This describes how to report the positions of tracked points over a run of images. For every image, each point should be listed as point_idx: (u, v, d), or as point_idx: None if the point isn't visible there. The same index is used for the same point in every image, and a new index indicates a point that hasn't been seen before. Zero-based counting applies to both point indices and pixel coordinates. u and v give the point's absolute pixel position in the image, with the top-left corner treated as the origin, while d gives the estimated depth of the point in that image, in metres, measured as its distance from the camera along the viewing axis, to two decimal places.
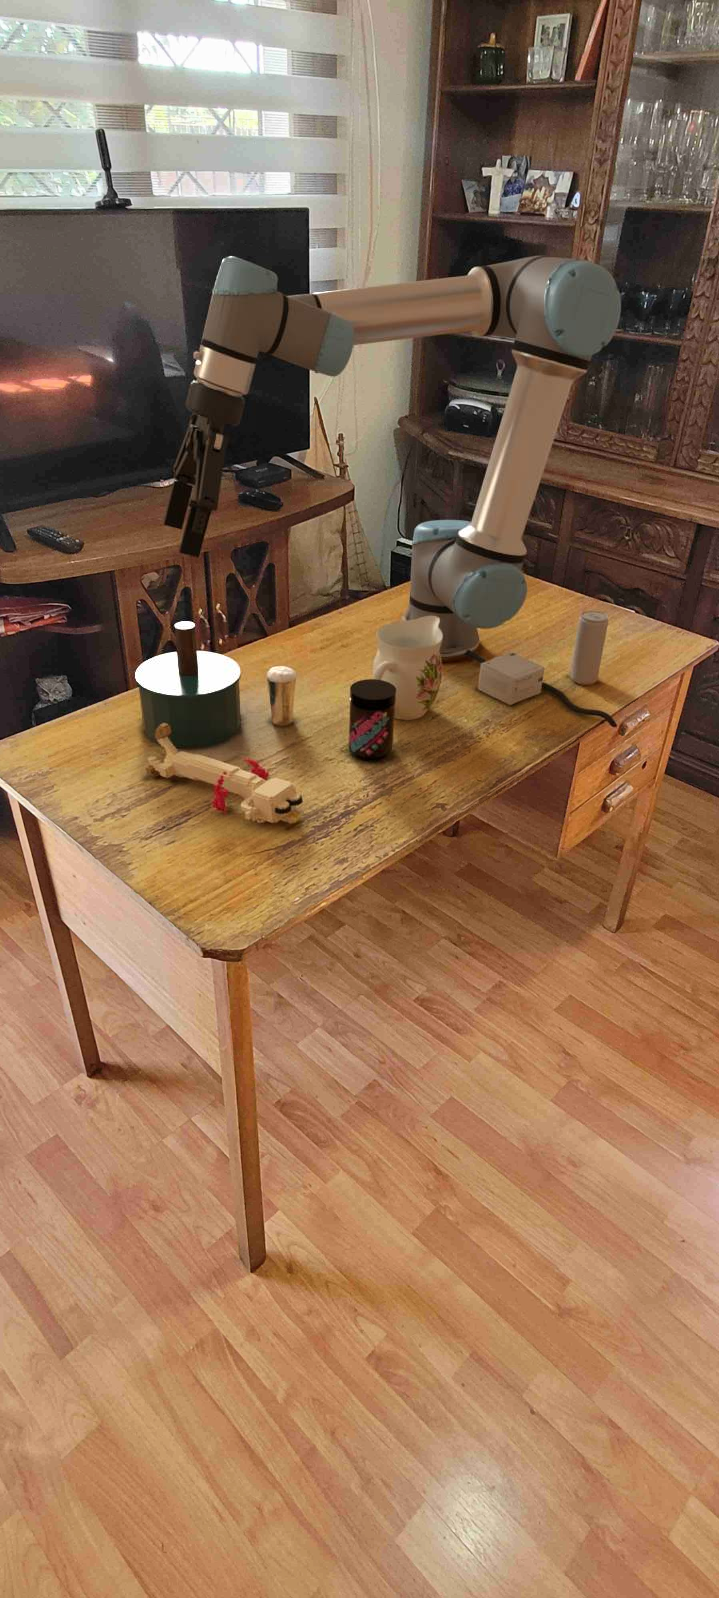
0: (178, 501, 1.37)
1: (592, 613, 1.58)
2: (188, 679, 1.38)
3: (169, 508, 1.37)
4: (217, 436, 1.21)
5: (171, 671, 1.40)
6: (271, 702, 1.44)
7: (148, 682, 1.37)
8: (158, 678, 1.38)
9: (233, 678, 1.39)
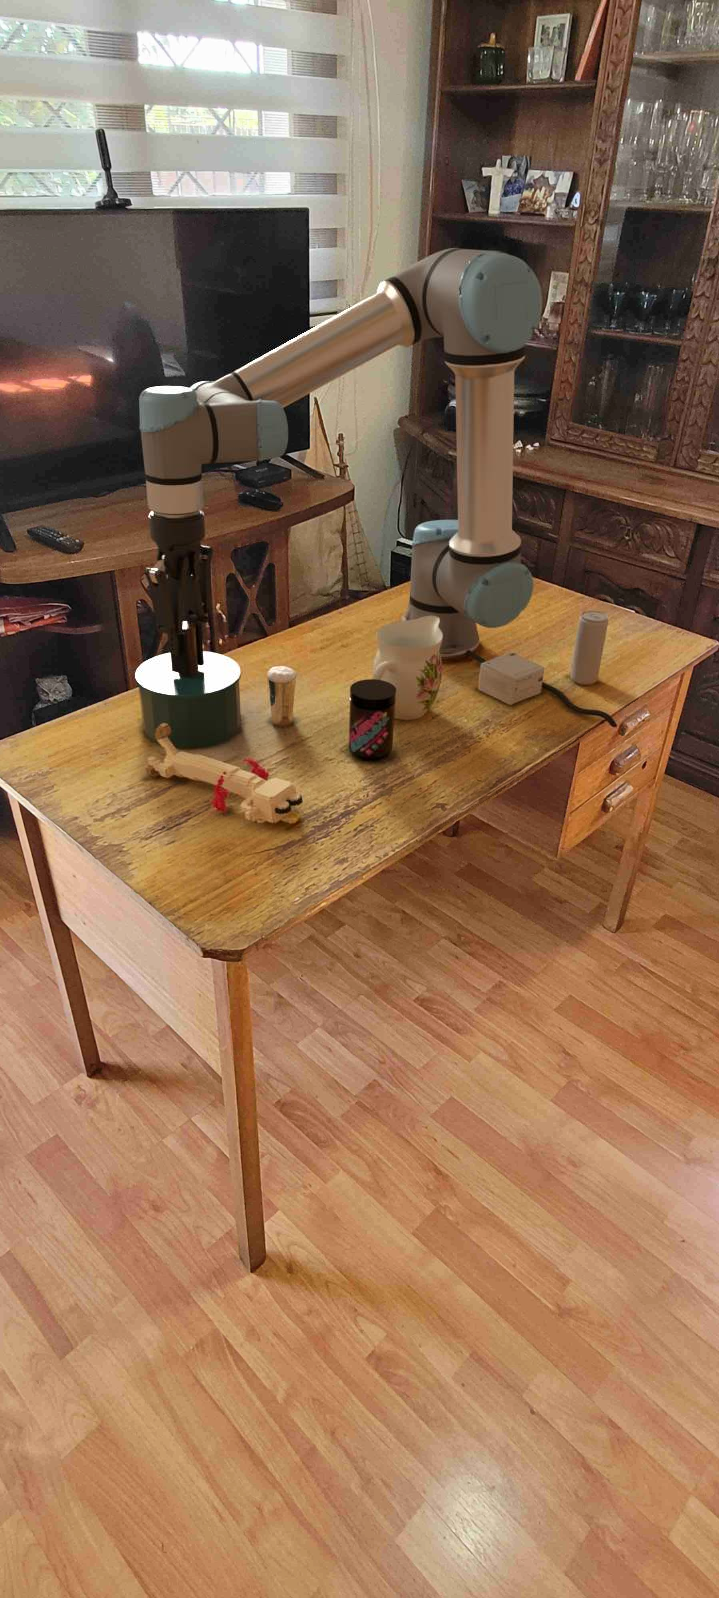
0: None
1: (592, 613, 1.58)
2: (188, 679, 1.38)
3: None
4: (150, 575, 1.26)
5: (171, 671, 1.40)
6: (271, 702, 1.44)
7: (148, 682, 1.37)
8: (158, 678, 1.38)
9: (233, 678, 1.39)
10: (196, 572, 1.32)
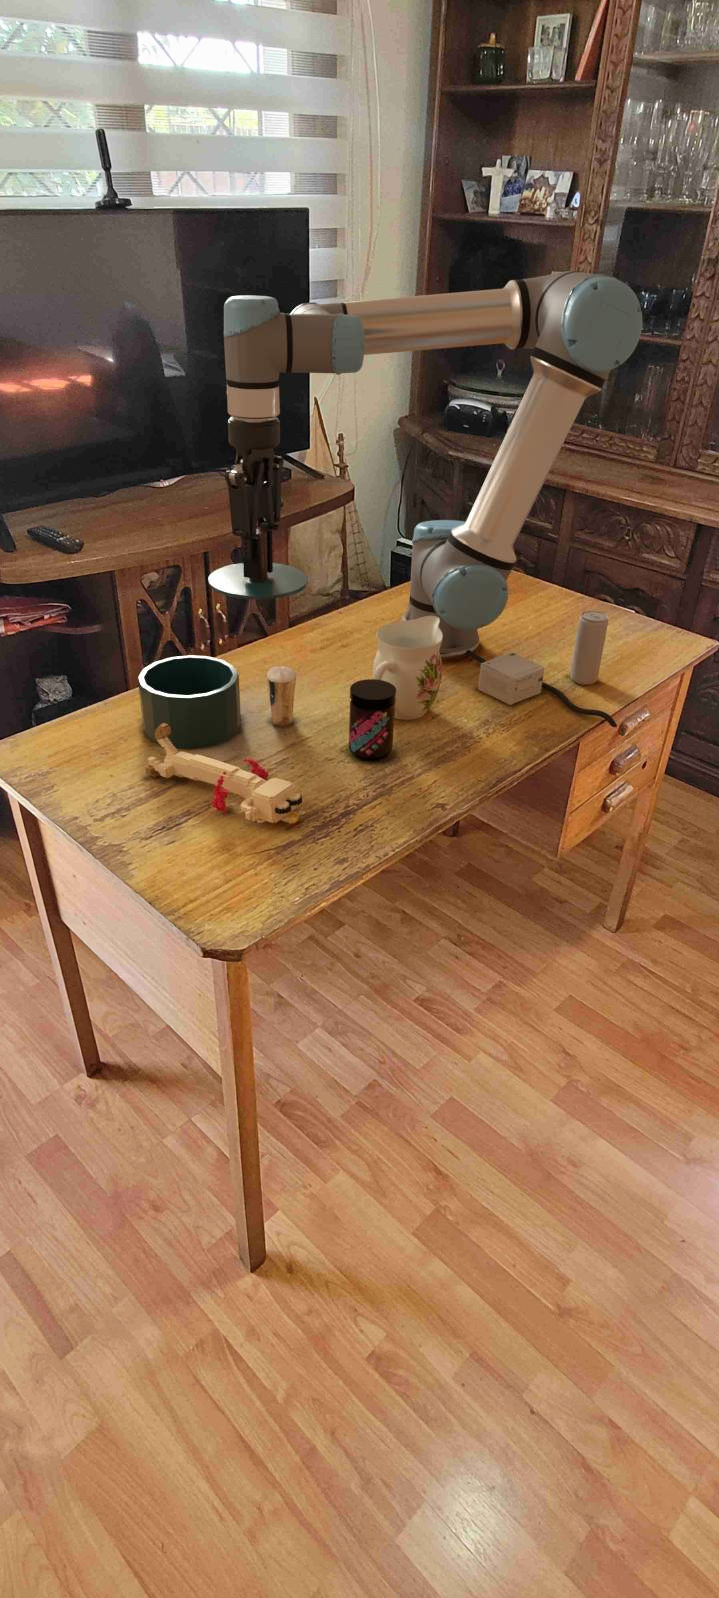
0: None
1: (592, 613, 1.58)
2: (259, 584, 1.45)
3: None
4: (229, 477, 1.34)
5: (242, 577, 1.48)
6: (271, 702, 1.44)
7: (222, 586, 1.44)
8: (231, 582, 1.46)
9: (301, 583, 1.46)
10: (270, 479, 1.40)
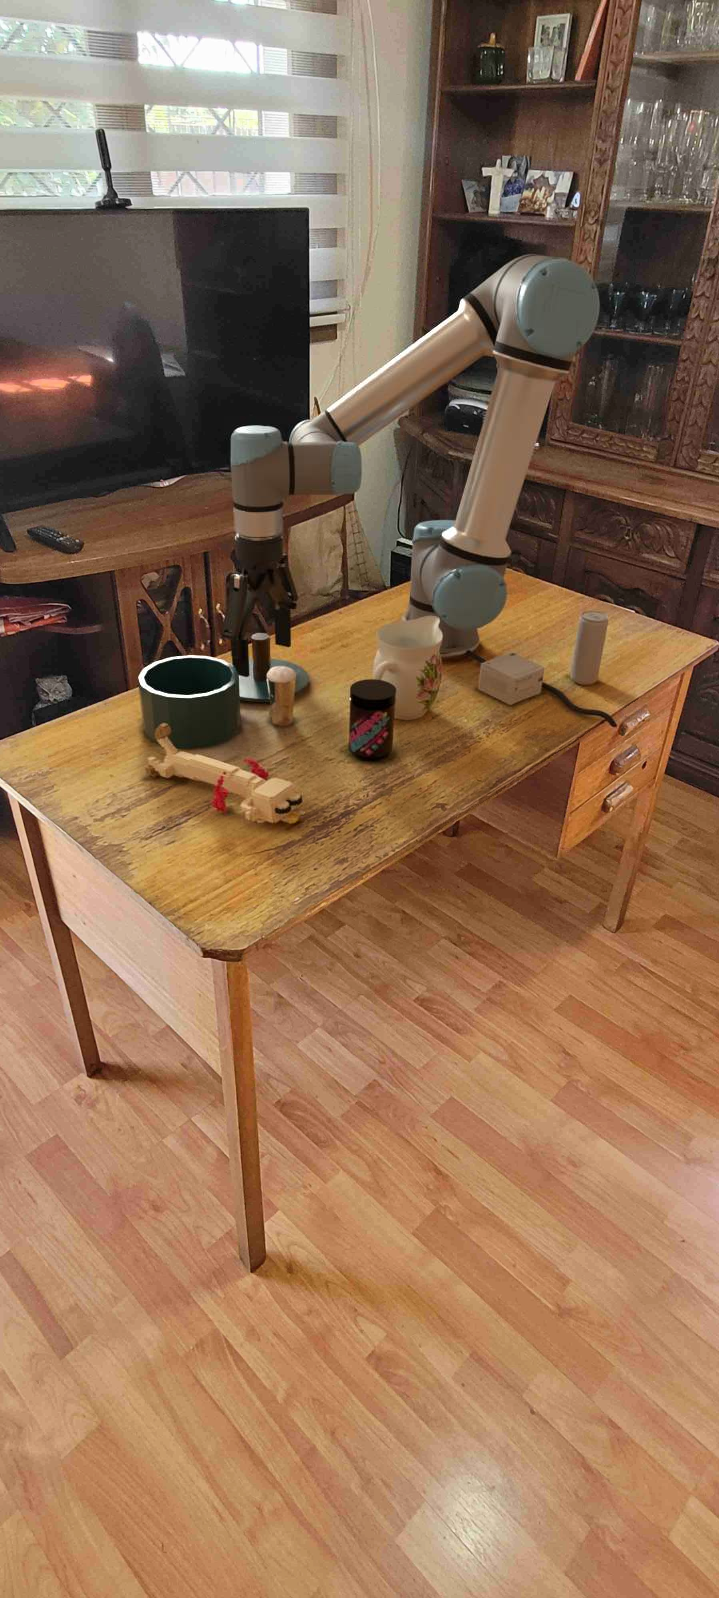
0: (280, 624, 1.58)
1: (592, 613, 1.58)
2: (263, 684, 1.55)
3: (275, 630, 1.60)
4: (234, 578, 1.42)
5: (247, 677, 1.57)
6: (271, 702, 1.44)
7: None
8: None
9: (302, 683, 1.56)
10: (277, 582, 1.50)
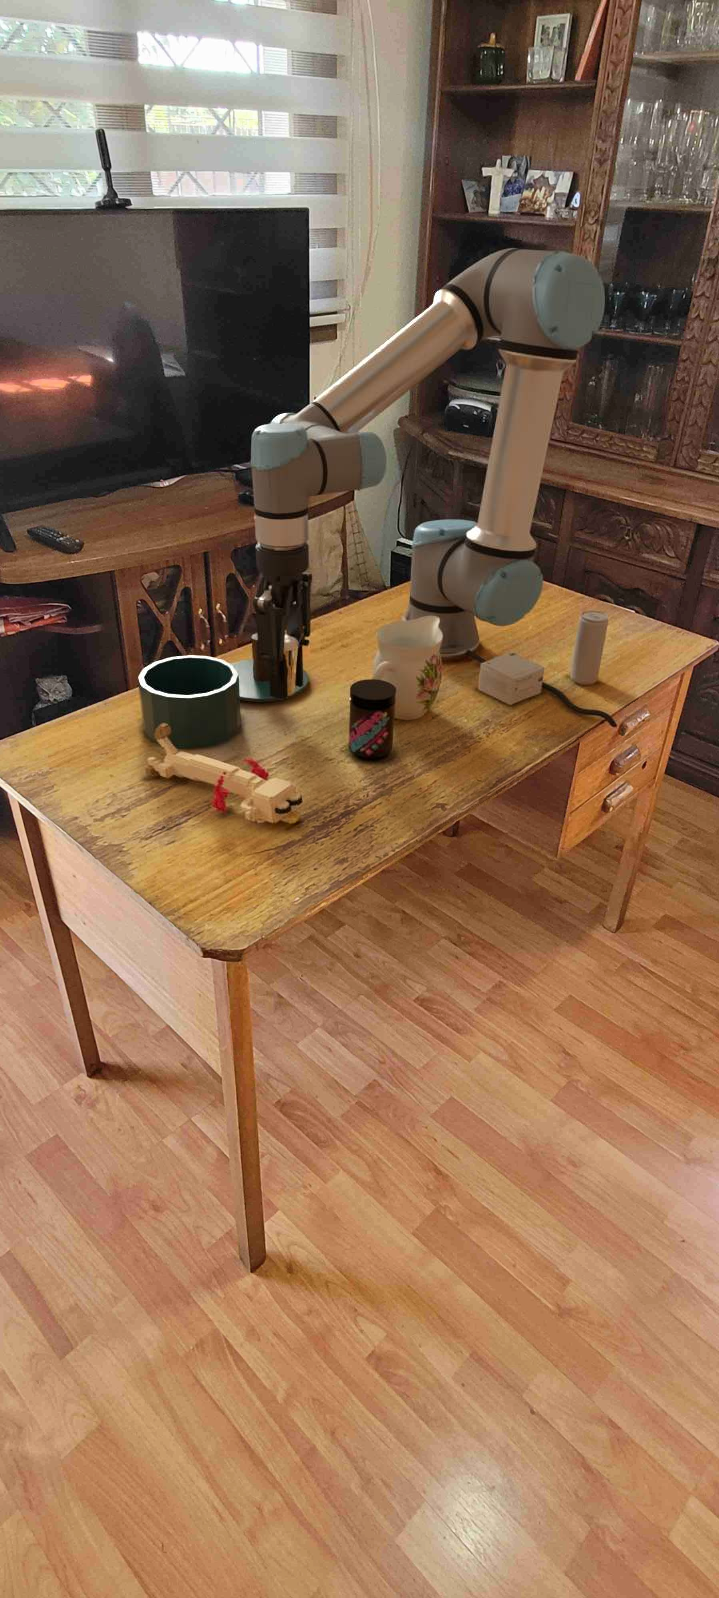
0: None
1: (592, 613, 1.58)
2: (263, 684, 1.55)
3: None
4: (258, 604, 1.30)
5: (247, 677, 1.57)
6: None
7: None
8: None
9: None
10: (299, 600, 1.37)
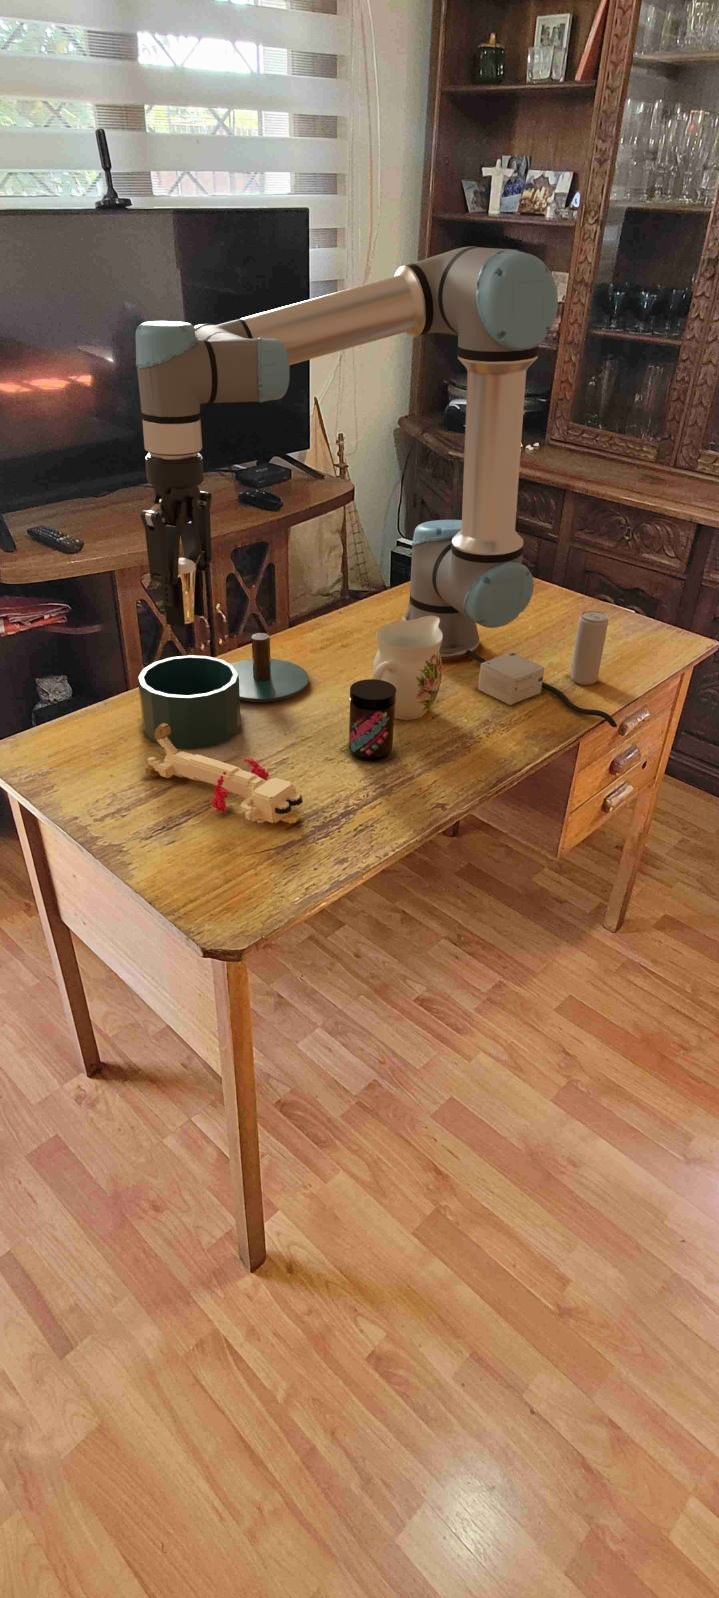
0: None
1: (592, 613, 1.58)
2: (263, 684, 1.55)
3: None
4: (145, 517, 1.22)
5: (247, 677, 1.57)
6: None
7: None
8: None
9: (302, 683, 1.56)
10: (195, 518, 1.28)
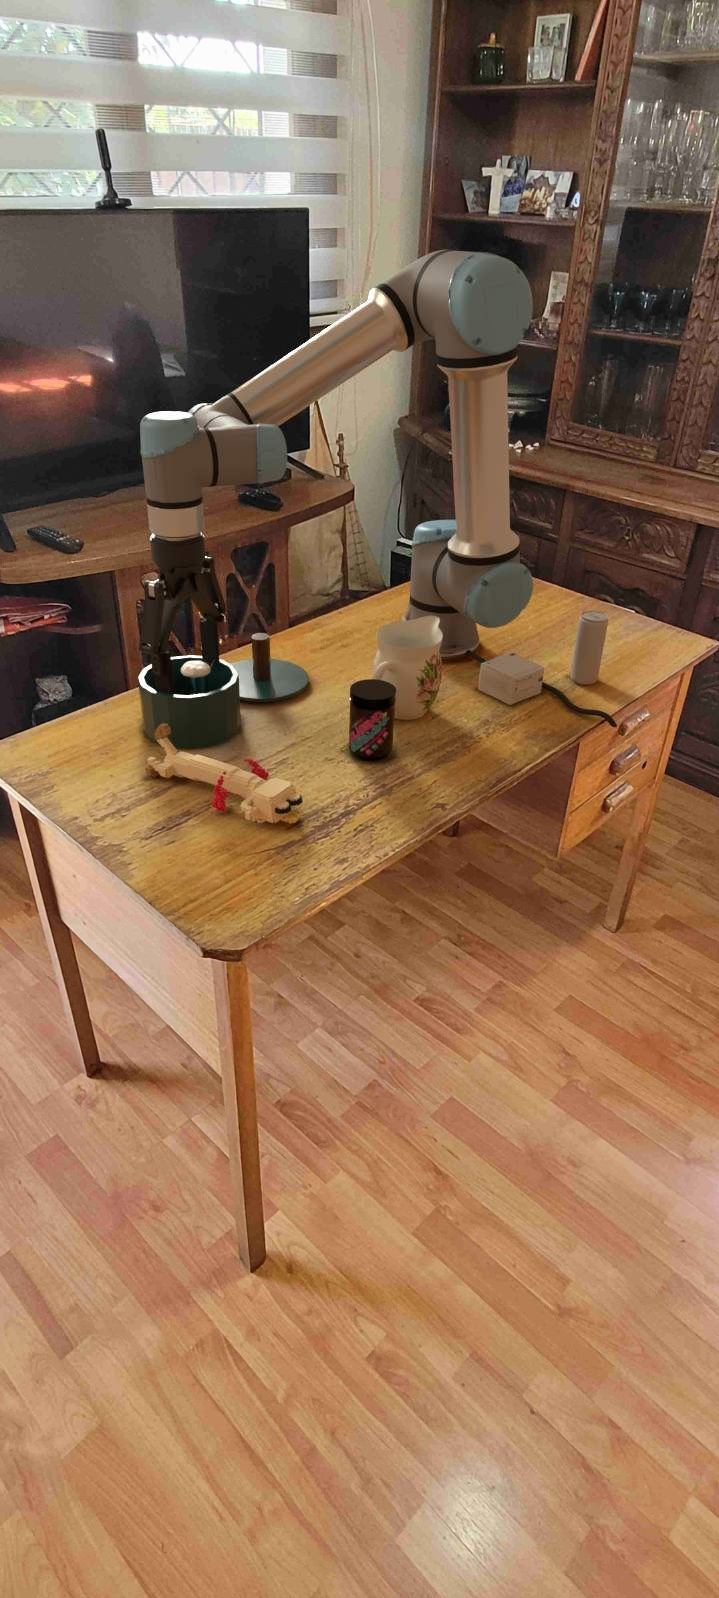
0: (207, 639, 1.43)
1: (592, 613, 1.58)
2: (263, 684, 1.55)
3: (202, 645, 1.44)
4: (149, 586, 1.27)
5: (247, 677, 1.57)
6: None
7: None
8: None
9: (302, 683, 1.56)
10: (201, 588, 1.35)
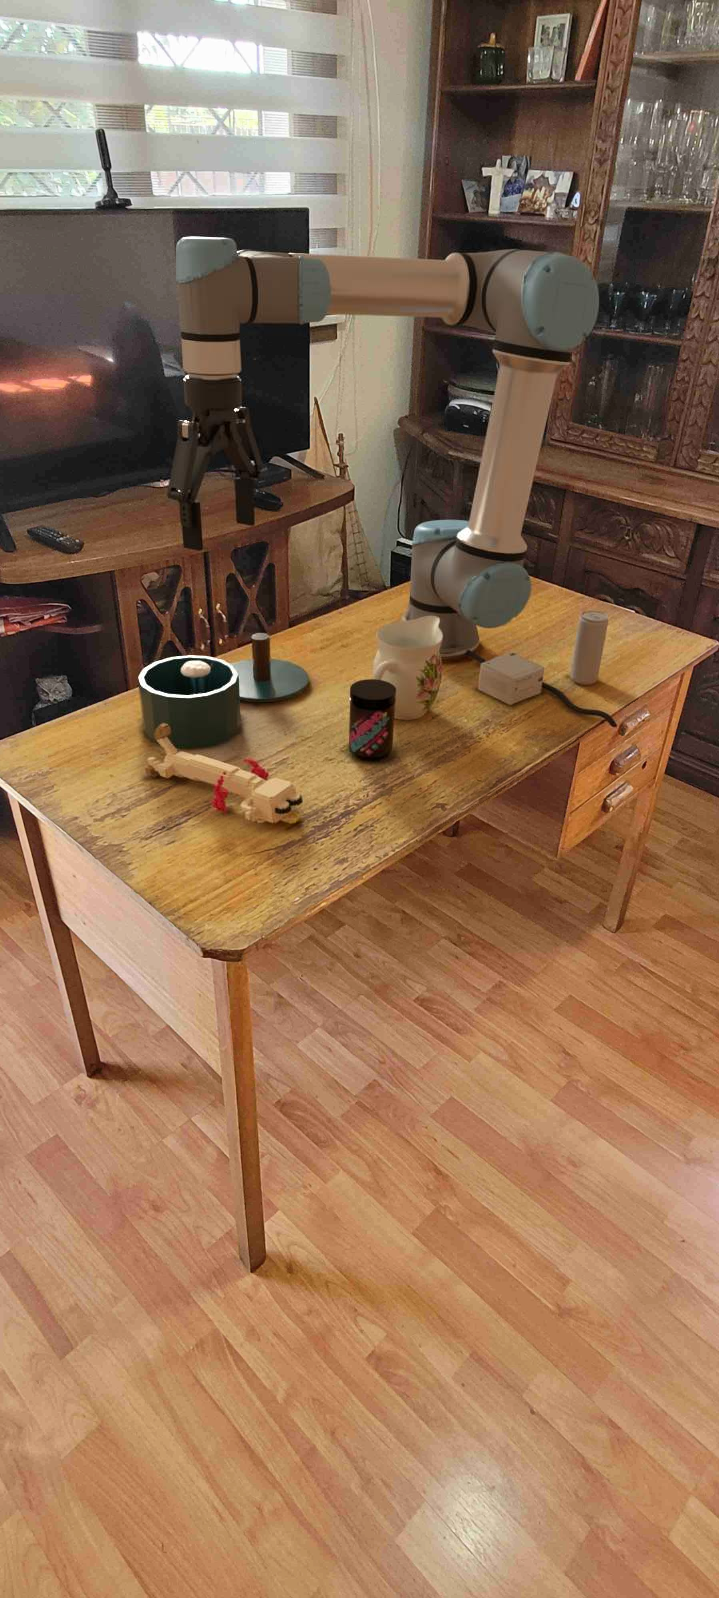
0: (242, 497, 1.36)
1: (592, 613, 1.58)
2: (263, 684, 1.55)
3: (236, 505, 1.37)
4: (182, 424, 1.19)
5: (247, 677, 1.57)
6: None
7: None
8: None
9: (302, 683, 1.56)
10: (236, 439, 1.28)
